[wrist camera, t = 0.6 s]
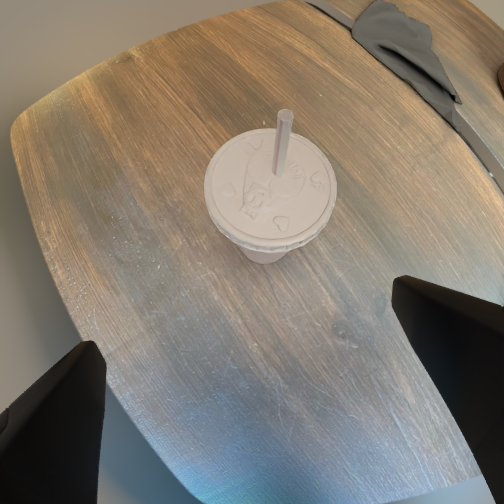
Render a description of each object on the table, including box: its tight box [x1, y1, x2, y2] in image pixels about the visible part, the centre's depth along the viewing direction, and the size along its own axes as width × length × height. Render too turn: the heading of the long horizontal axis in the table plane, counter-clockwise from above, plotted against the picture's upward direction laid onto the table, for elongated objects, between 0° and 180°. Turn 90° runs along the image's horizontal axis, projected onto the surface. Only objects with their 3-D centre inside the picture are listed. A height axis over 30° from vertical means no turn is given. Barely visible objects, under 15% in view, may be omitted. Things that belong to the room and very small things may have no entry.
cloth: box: [352, 0, 462, 132], centre depth 29 cm, size 26×14×2 cm, turn 173°
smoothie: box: [204, 109, 337, 264], centre depth 17 cm, size 6×6×14 cm
